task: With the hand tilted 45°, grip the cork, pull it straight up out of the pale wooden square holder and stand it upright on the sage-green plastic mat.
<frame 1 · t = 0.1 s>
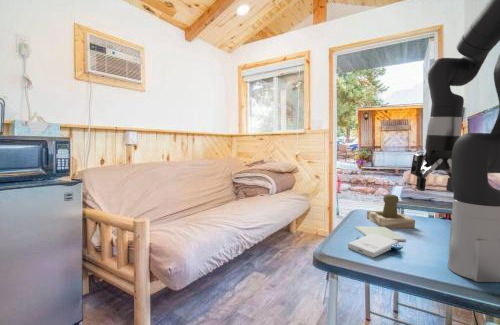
hand: (435, 190, 75), 17 cm above the table, tool pointing down, fingers open, 8 cm apart
holder: (389, 222, 102), on the table
cork: (389, 223, 102), resting in holder
mat: (378, 234, 89), on the table
external hard drive: (372, 247, 77), on the table, touching mat
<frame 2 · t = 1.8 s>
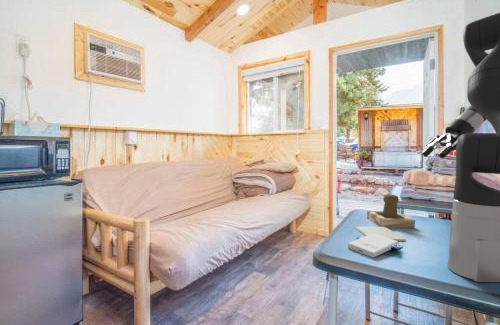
hand: (431, 156, 97), 26 cm above the table, tool tilted 45°, fingers open, 8 cm apart
nothing on the table moved.
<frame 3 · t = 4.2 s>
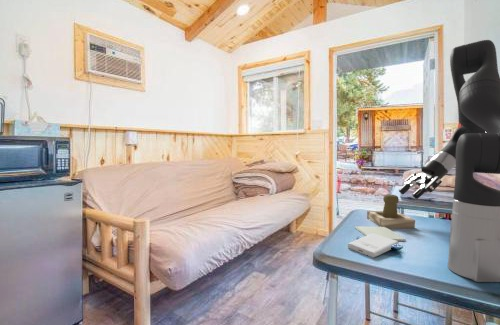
hand: (407, 194, 101), 11 cm above the table, tool tilted 45°, fingers open, 8 cm apart
nothing on the table moved.
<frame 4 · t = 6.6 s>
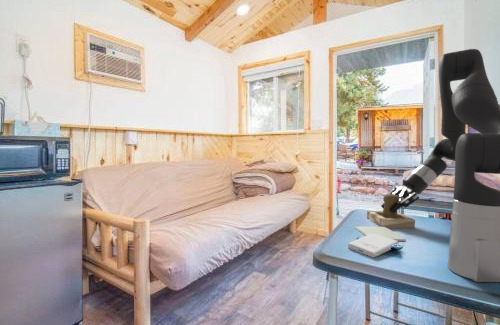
hand: (386, 209, 102), 5 cm above the table, tool tilted 45°, fingers closed on cork, 5 cm apart
cork: (389, 223, 102), resting in holder, touching gripper
everything else where it was.
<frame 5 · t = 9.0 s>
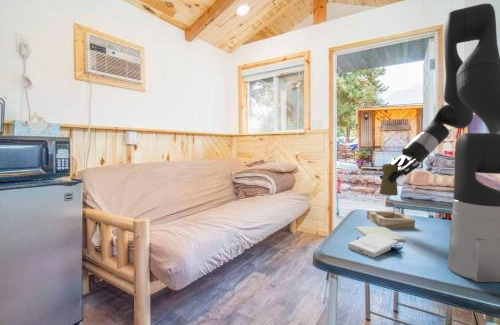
hand: (385, 179, 96), 17 cm above the table, tool tilted 45°, fingers closed on cork, 5 cm apart
cork: (388, 194, 96), point 12 cm above the table, touching gripper
everything else where it was.
when the fingers open (7 cm above the table, at t = 11.8 s): cork drops 1 cm, resting on mat.
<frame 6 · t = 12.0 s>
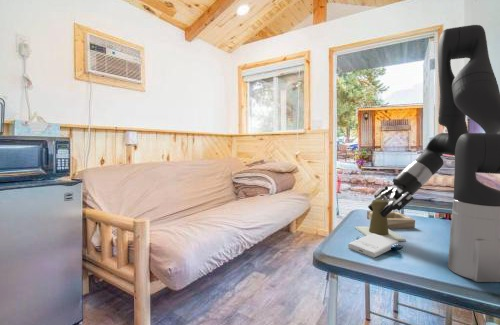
hand: (375, 212, 88), 8 cm above the table, tool tilted 45°, fingers open, 7 cm apart
cork: (378, 232, 89), resting on mat
everything else where it was.
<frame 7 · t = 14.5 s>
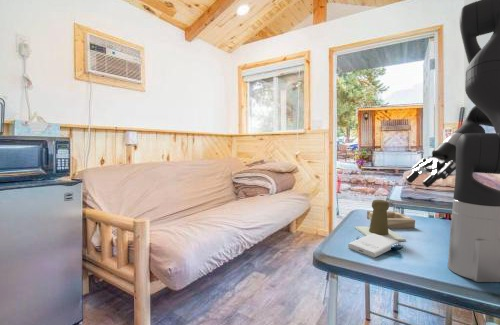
hand: (416, 183, 88), 18 cm above the table, tool tilted 45°, fingers open, 8 cm apart
nothing on the table moved.
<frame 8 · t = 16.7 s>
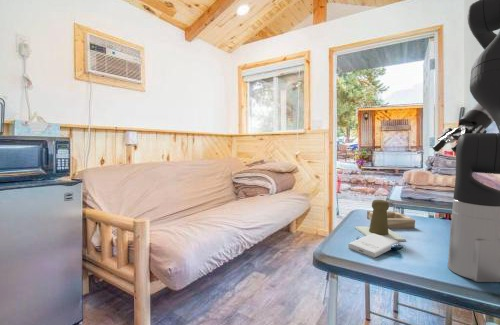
hand: (443, 150, 89), 29 cm above the table, tool tilted 45°, fingers open, 8 cm apart
nothing on the table moved.
at the end: cork inside the target area on the mat (0.2 cm from its centre), point 0.4 cm above the mat's base; cork tilted 0°; the gripper is holding nothing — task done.
